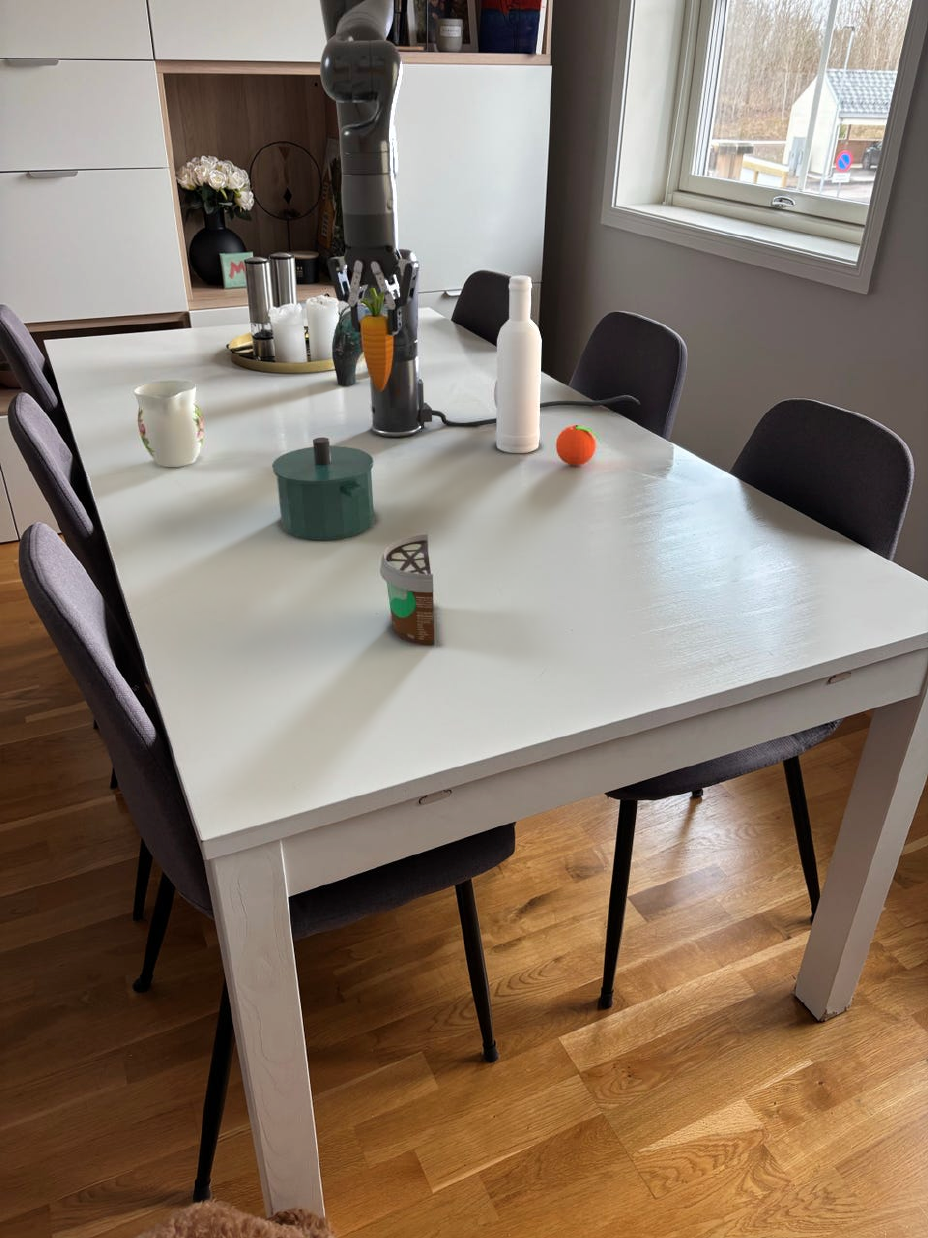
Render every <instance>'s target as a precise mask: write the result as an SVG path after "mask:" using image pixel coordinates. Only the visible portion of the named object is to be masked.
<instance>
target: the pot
mask: <svg viewBox="0 0 928 1238" xmlns="http://www.w3.org/2000/svg"><path fill="white" fill-rule="evenodd" d="M275 477H276V485H277V494H278V502H279V503H278V505H279V512H280V513H279V514H280V520H281V524H282V529H283V530H284V532H285V533H287V534H289V535H291V536H293V537H295V538H298V539H303V540H308V541H309V540H310V541H334V540H335V541H336V540H341V539H342V540H343V539H347V538H350V537H353V536H356V535H358V534H361V533H363V532H366V530H368V529H369V528H370V527H371V526H372V524H373V523H374V518H375V511H374V493H373V477H372V469H371V470H370V471H369V472H368V473H366V474H365V475H363V476H361V477H358V478H355V479H352V480H349V481H345V482H340V483H333V484H321V485H309V484H298V483H293V482H289V481H285V480H283V479H281V478H279V477H277V476H276V475H275Z"/></svg>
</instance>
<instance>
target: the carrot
mask: <svg viewBox="0 0 928 1238" xmlns="http://www.w3.org/2000/svg"><path fill="white" fill-rule="evenodd" d="M369 291H370V294H371V297H372V300H373V303H374V305H373V303H372V302H369V301H367V300H366V299H363V298H361V299H360V302H361V303H362V304H364V305H365V306H367V307H368V309H369V310H370V312H371V314H370V315H366V316H364V317H363V318H362V319H361V322H360V326H361V337H362V346H363V356H364V361H365V365H366V369H367V373H368V374H369V378H370V377H371V379H372V381H373V383H374V385H375V387H376V389H377V390H378V391H379V392H381V391H382V390H383V389H384V388H385V385H386V383H387V381H388V378H389V375H390V372H391V366H392V358H393V335H389V333H388V315H385V314H380V313H381V309H382V305H383V299H384V295H383V294H382V293H380V295H379V296H378V295H377V294H376V291H375V289H374V288H370V289H369Z"/></svg>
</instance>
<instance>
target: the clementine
mask: <svg viewBox="0 0 928 1238" xmlns="http://www.w3.org/2000/svg"><path fill="white" fill-rule="evenodd" d="M595 436H596V438H597V439H598V442H599V443H600V444H602V442H601V439H600V437H599V435H598V434H597V433H596V432H595V431H594V430H593V429H591V428H589V427H587V426H583V425H580V424H579V425H578V424H574V425H569V426H568V427H565V428H564V429H563V430H562V431H560V433H559V434H558V437H557V438H556V443H555V448H556V454H557V456H558V457H559V459H560V460H561V461H562V462H563V463H565V464H567V465H570V466H575V467H577V466H581V465H584V464H586V463H588V462H589V461H590V460H591V459H592V458H593V456H594V454H595V452H596V447H597V444H596V443H597V442H596V438H595Z"/></svg>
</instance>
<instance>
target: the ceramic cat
mask: <svg viewBox="0 0 928 1238" xmlns="http://www.w3.org/2000/svg"><path fill="white" fill-rule="evenodd" d="M372 303H373V302H372ZM373 305H374V303H373ZM349 308H350V306H349V305H347V306H345V307H344V308H343V309H342V310H341V311H340V314H339V316H338V321H337V323H336V325H335V329H334V333H333V336H332V341H331V356H332V357H331V358H332V362H333V366H334V371H335V376H336V381H337V385H339V386H345V387H348V386H352V385H354V384H355V383H356V371H357V364H358V362H359V359H360V357H361V356H362V354H364V352H363V346H362V337H361V333H358V332H355V328H353V327H352V325H351V310H348V309H349ZM388 309H389V307H388V305H387V303H383V305H382V309H381V313H380V314H385V315H387V310H388ZM347 310H348V311H347ZM364 310H365V316H366V315H370V314H371V312H370V310H369V309H368V307H367V306H366V305H365V304H364ZM345 311H347V312H345Z"/></svg>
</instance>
